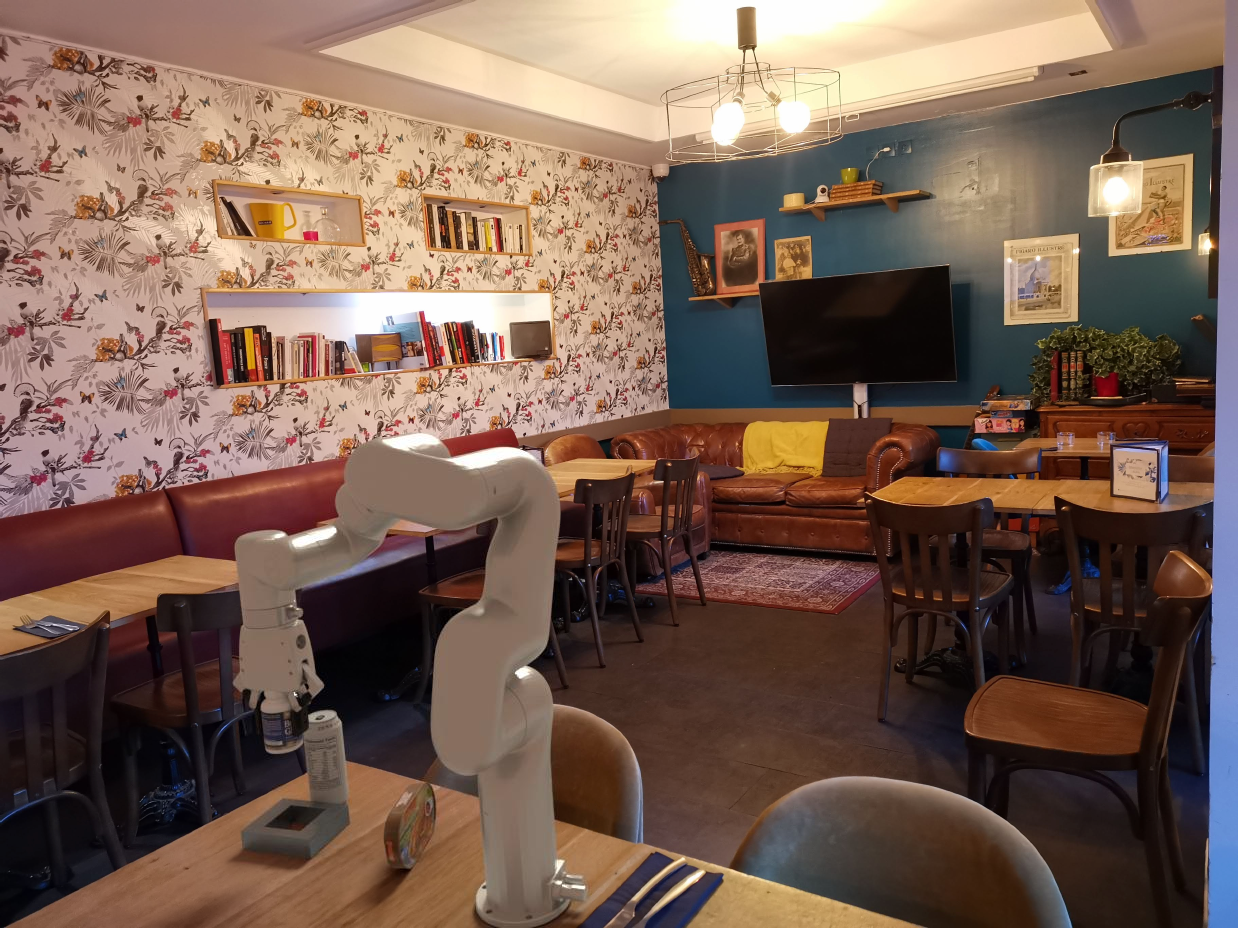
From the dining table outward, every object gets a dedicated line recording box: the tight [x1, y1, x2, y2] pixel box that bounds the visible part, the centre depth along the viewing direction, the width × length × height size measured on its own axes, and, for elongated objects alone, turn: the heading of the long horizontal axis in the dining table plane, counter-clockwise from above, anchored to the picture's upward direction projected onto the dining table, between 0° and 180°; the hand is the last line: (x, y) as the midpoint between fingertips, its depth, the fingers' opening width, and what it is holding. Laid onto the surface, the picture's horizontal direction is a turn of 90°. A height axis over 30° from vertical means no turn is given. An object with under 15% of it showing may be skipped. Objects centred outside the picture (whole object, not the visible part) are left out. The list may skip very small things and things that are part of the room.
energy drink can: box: [303, 709, 350, 805], centre depth 146 cm, size 6×6×15 cm
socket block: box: [240, 797, 351, 859], centre depth 137 cm, size 12×10×3 cm
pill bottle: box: [261, 691, 304, 755], centre depth 133 cm, size 5×5×10 cm
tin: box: [383, 781, 437, 870], centre depth 131 cm, size 15×3×8 cm, turn 173°
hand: (283, 730), depth 134 cm, fingers closed on pill bottle, 5 cm apart
